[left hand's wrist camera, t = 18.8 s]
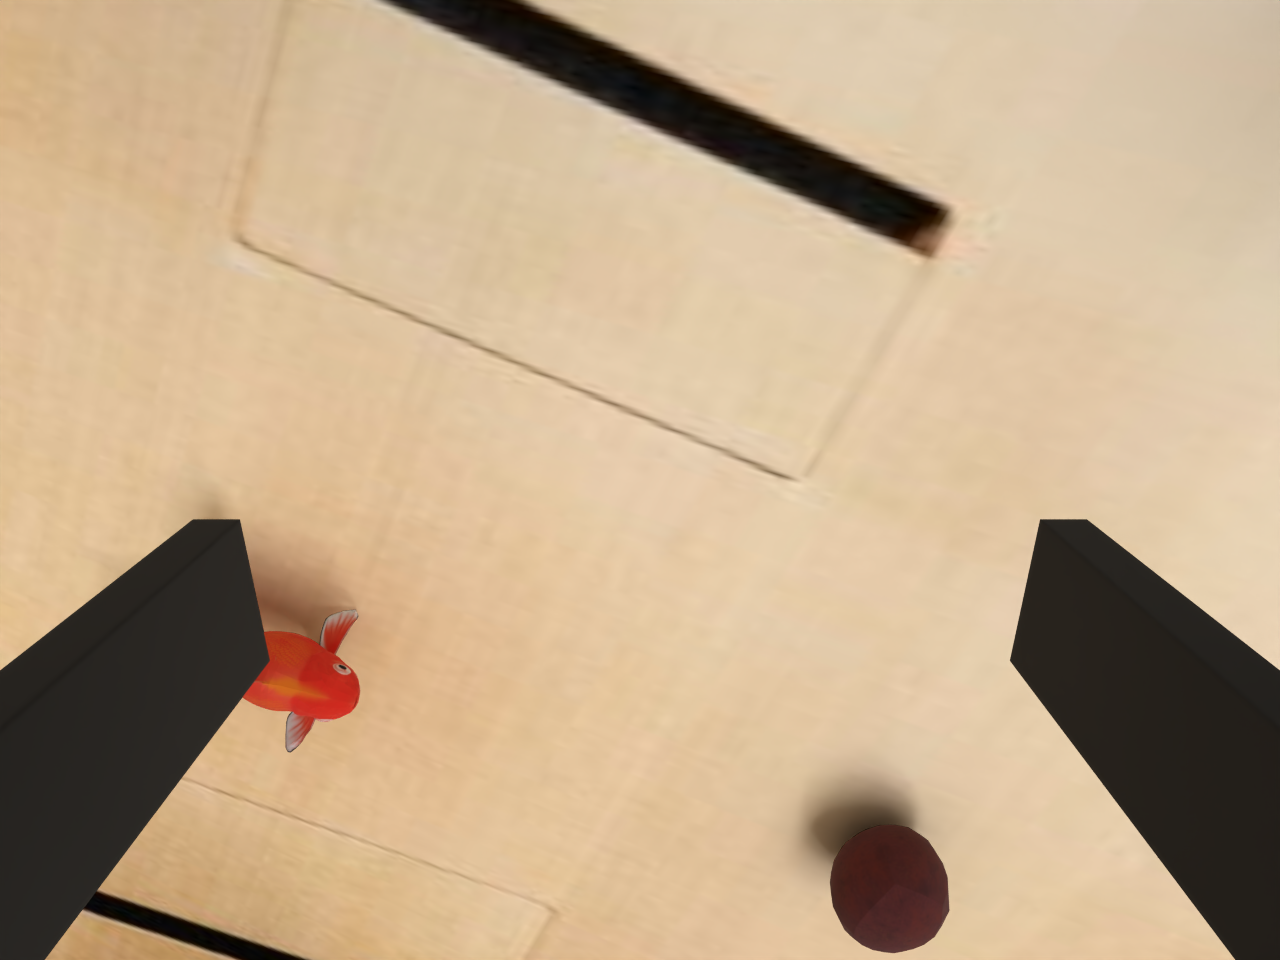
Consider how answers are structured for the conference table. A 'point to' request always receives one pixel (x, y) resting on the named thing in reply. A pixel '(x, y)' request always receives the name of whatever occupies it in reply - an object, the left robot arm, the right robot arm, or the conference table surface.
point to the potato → (889, 889)
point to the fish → (307, 678)
